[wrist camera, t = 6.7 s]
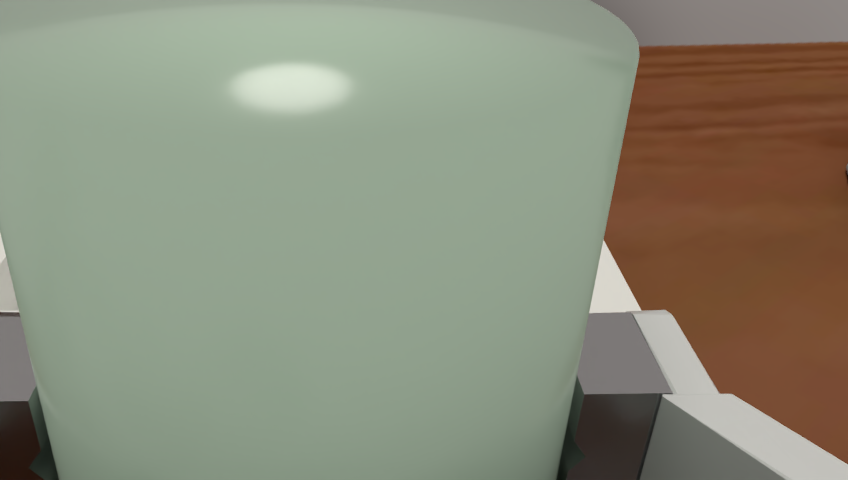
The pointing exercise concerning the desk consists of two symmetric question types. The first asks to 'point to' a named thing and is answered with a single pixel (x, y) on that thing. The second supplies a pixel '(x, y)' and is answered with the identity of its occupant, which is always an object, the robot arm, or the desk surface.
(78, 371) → the green cylinder
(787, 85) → the desk surface
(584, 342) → the robot arm
